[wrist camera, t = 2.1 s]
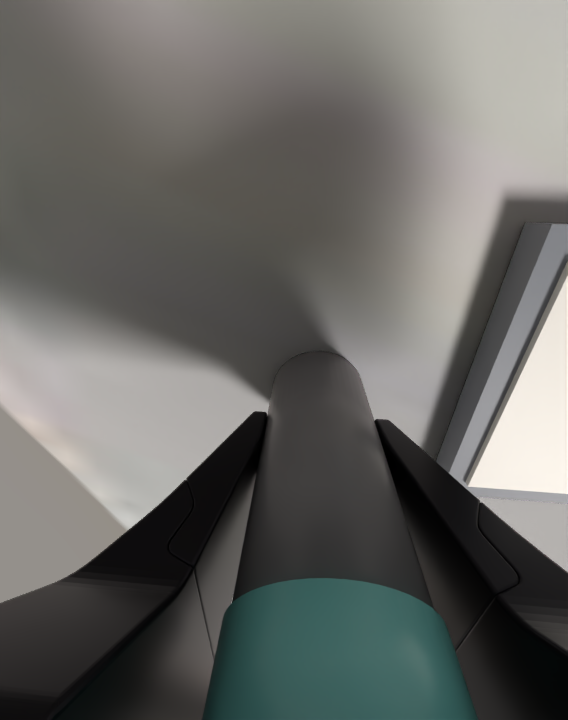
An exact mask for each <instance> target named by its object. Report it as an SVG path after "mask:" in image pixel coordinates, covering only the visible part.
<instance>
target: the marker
mask: <svg viewBox="0 0 568 720" xmlns="http://www.w3.org/2000/svg"><path fill="white" fill-rule="evenodd" d="M202 720H478V717H477V714H476V711H475V708H474V705H473V702H472V699H471V696H470V693H469V690H468V687H467V684H466V681H465V679H464V676H463V673H462V670H461V667H460V664H459V661H458V658H457V655H456V652H455V649H454V646H453V643H452V640H451V637H450V634H449V631H448V628H447V626H446V623H445V621H444V620H443V619H442V617H441V616H440V615H439V614H438V613H437V612H436V611H435V610H434V607H433V603H432V600H431V597H430V594H429V591H428V588H427V585H426V581H425V578H424V575H423V572H422V569H421V566H420V563H419V560H418V556H417V553H416V550H415V547H414V544H413V541H412V538H411V534H410V531H409V528H408V525H407V522H406V519H405V516H404V513H403V509H402V506H401V503H400V500H399V497H398V494H397V491H396V487H395V484H394V481H393V478H392V475H391V472H390V469H389V465H388V462H387V459H386V456H385V453H384V450H383V447H382V444H381V440H380V437H379V434H378V431H377V428H376V425H375V422H374V418H373V415H372V412H371V409H370V406H369V403H368V400H367V396H366V393H365V390H364V387H363V384H362V381H361V378H360V375H359V373H358V372H357V370H356V369H355V367H354V366H353V365H352V364H351V363H350V362H349V361H347V360H346V359H344V358H343V357H341V356H339V355H336V354H333V353H329V352H322V351H313V352H307V353H303V354H300V355H297V356H295V357H293V358H291V359H290V360H289V361H287V362H286V363H285V364H284V365H283V366H282V367H281V368H280V369H279V371H278V373H277V374H276V377H275V379H274V383H273V388H272V394H271V399H270V404H269V409H268V415H267V421H266V426H265V431H264V437H263V442H262V447H261V452H260V457H259V462H258V468H257V473H256V478H255V483H254V489H253V494H252V499H251V505H250V510H249V515H248V520H247V526H246V531H245V536H244V542H243V547H242V552H241V557H240V563H239V568H238V573H237V579H236V584H235V589H234V594H233V600H232V604H231V605H230V606H229V607H228V608H227V610H226V611H225V613H224V616H223V620H222V624H221V629H220V634H219V639H218V644H217V649H216V654H215V659H214V664H213V668H212V673H211V678H210V683H209V688H208V693H207V698H206V703H205V708H204V712H203V717H202Z"/></svg>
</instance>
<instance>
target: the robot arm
mask: <svg viewBox="0 0 568 720" xmlns="http://www.w3.org/2000/svg"><path fill="white" fill-rule="evenodd" d="M266 421H267V413H266V412H258V411H255V412H253V413H252V414H251V415H250V416H249V417H248V418H247V419H246V420H245V421H244V422H243V423H242V424H241V425H240V426H239V427H238V428H237V429H236V430H235V431H234V432H233V433H232V434H231V435H230V436H229V437H228V438H227V439H226V440H225V441H224V442H223V443H222V444H221V445H220V446H219V447H218V448H217V449H216V450H215V451H214V452H213V453H212V454H211V455H210V456H209V457H208V458H207V459H206V460H205V461H204V462H203V463H202V464H201V465H199V466H198V467H197V468H196V469H195V470H194V471H193V472H192V473H191V474H190V475H189V476H188V477H187V479H186V480H187V481H186V480H184V481H183V482H182V483H181V484H180V485H179V486H178V487H177V488H176V489H175V490H174V491H173V492H172V493H171V494H170V495H169V496H168V497H167V498H165V499H164V500H163V501H162V502H161V503H160V504H159V505H158V506H157V507H155V508H154V509H153V510H152V511H151V512H150V513H148V514H147V515H146V516H145V517H144V518H143V519H141V520H140V521H139V522H138V523H137V524H135V525H134V526H133V527H132V528H130V529H129V530H128V531H127V532H126V533H124V534H123V535H122V536H121V537H119V538H118V539H117V540H116V541H115V542H113V543H112V544H111V545H110V546H108V547H107V548H106V549H105V550H104V551H102V552H101V553H100V554H99V555H97V556H96V557H95V558H94V559H92V560H91V561H90V562H88V563H87V564H86V565H84V566H83V567H81V568H80V569H79V570H77V571H76V572H74V573H72V574H70V575H69V576H67V577H65V578H63V579H61V580H59V581H57V582H55V583H52V584H50V585H47V586H44V587H42V588H39V589H37V590H34V591H31V592H29V593H26V594H23V595H20V596H18V597H15V598H12V599H10V600H7V601H4V602H2V603H0V720H202V717H203V712H204V708H205V703H206V698H207V693H208V688H209V683H210V678H211V673H212V668H213V664H214V659H215V654H216V649H217V644H218V639H219V634H220V629H221V624H222V620H223V616H224V613H225V611H226V610H227V608H228V607H229V606H230V605H231V602H232V598H233V594H234V589H235V584H236V579H237V573H238V568H239V563H240V557H241V552H242V547H243V542H244V536H245V531H246V526H247V520H248V515H249V510H250V505H251V499H252V494H253V489H254V483H255V478H256V473H257V468H258V462H259V457H260V452H261V447H262V442H263V437H264V431H265V426H266ZM374 422H375V425H376V428H377V431H378V434H379V437H380V440H381V444H382V447H383V450H384V453H385V456H386V459H387V462H388V465H389V469H390V472H391V475H392V478H393V481H394V484H395V487H396V491H397V494H398V497H399V500H400V503H401V506H402V509H403V513H404V516H405V519H406V522H407V525H408V528H409V531H410V534H411V538H412V541H413V544H414V547H415V550H416V553H417V556H418V560H419V563H420V566H421V569H422V572H423V575H424V578H425V581H426V585H427V588H428V591H429V594H430V597H431V600H432V603H433V607H434V610H435V611H436V612H437V613H438V614H439V615H440V616H441V617H442V619H443V620H444V621H445V623H446V626H447V628H448V631H449V634H450V637H451V640H452V643H453V646H454V649H455V652H456V655H457V658H458V661H459V664H460V667H461V670H462V673H463V676H464V679H465V681H466V684H467V687H468V690H469V693H470V696H471V699H472V702H473V705H474V708H475V711H476V714H477V717H478V720H568V572H567V571H565V570H564V569H563V568H561V567H560V566H559V565H558V564H556V563H555V562H554V561H552V560H551V559H550V558H549V557H547V556H546V555H545V554H543V553H542V552H541V551H540V550H538V549H537V548H536V547H535V546H533V545H532V544H531V543H530V542H528V541H527V540H526V539H525V538H523V537H522V536H521V535H520V534H518V533H517V532H516V531H515V530H514V529H512V528H511V527H510V526H509V525H508V524H507V523H505V522H504V521H503V520H502V519H501V518H499V517H498V516H497V515H496V514H495V513H494V512H493V511H491V510H490V509H489V508H488V507H487V506H486V505H485V504H483V503H480V500H479V499H478V498H477V497H475V496H474V495H473V494H472V493H471V492H470V491H469V490H467V489H466V488H465V487H464V486H463V485H462V484H461V483H460V482H458V481H457V480H456V479H455V478H454V477H453V476H452V475H451V474H449V473H448V472H447V471H446V470H445V469H444V468H443V467H441V466H440V465H439V464H438V463H437V462H436V461H435V460H434V459H432V458H431V457H430V456H429V455H428V454H427V453H426V452H424V451H423V450H422V449H421V448H420V447H419V446H418V445H417V444H415V443H414V442H413V441H412V440H411V439H410V438H409V437H407V436H406V435H405V434H404V433H403V432H402V431H401V430H400V429H398V428H397V427H396V426H395V425H394V424H393V423H392V422H390V421H389V420H385V419H376V420H375V421H374Z"/></svg>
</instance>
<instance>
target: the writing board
mask: <svg viewBox="0 0 568 720" xmlns="http://www.w3.org/2000/svg"><path fill="white" fill-rule="evenodd" d="M436 462H437V463H438V464H439V465H440V466H441V467H443V468H444V469H445V470H446V471H447V472H448V473H449V474H451V475H452V476H453V477H454V478H455V479H456V480H457V481H458V482H460V483H461V484H462V485H463V486H464V487H465V488H466V489H467V490H469V491H470V492H471V493H472V494H473V495H474V496H475V497H481V498H495V499H508V500H521V501H535V502H548V503H561V504H568V224H566V223H532V222H525V224H524V227H523V230H522V232H521V235H520V238H519V240H518V243H517V246H516V248H515V251H514V254H513V256H512V259H511V262H510V264H509V267H508V270H507V272H506V275H505V278H504V280H503V283H502V286H501V288H500V291H499V294H498V296H497V299H496V302H495V304H494V307H493V310H492V312H491V315H490V318H489V320H488V323H487V326H486V328H485V331H484V334H483V336H482V339H481V342H480V344H479V347H478V350H477V352H476V355H475V358H474V360H473V363H472V366H471V368H470V371H469V374H468V377H467V379H466V382H465V385H464V387H463V390H462V393H461V395H460V398H459V401H458V403H457V406H456V409H455V411H454V414H453V417H452V419H451V422H450V425H449V427H448V430H447V433H446V435H445V438H444V441H443V443H442V446H441V449H440V451H439V454H438V457H437V459H436Z"/></svg>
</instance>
